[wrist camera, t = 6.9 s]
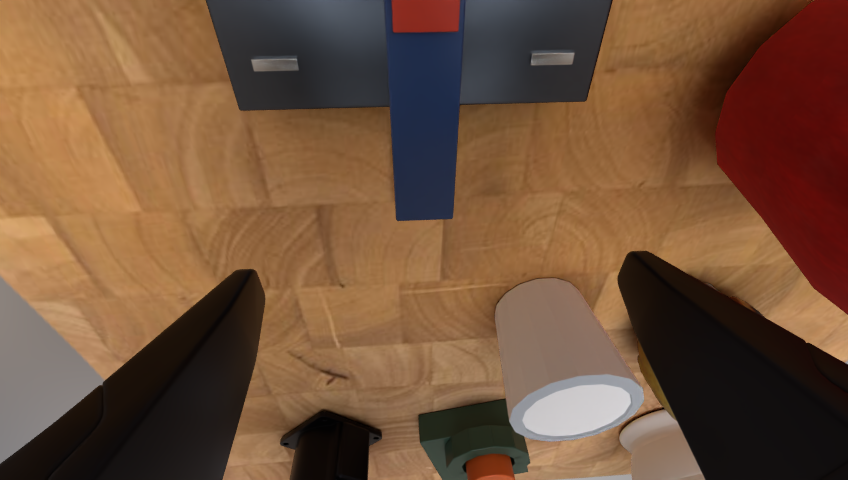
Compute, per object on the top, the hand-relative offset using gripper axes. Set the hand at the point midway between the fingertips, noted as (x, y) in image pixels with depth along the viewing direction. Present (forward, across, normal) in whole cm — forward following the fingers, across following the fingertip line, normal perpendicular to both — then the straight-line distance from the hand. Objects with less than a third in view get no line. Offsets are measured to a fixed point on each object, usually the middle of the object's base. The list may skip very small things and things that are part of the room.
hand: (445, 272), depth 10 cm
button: (+6, -5, +27) cm, 28 cm away
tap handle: (+6, 0, -3) cm, 7 cm away
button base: (+10, -5, +30) cm, 32 cm away
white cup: (+10, -8, +13) cm, 18 cm away
